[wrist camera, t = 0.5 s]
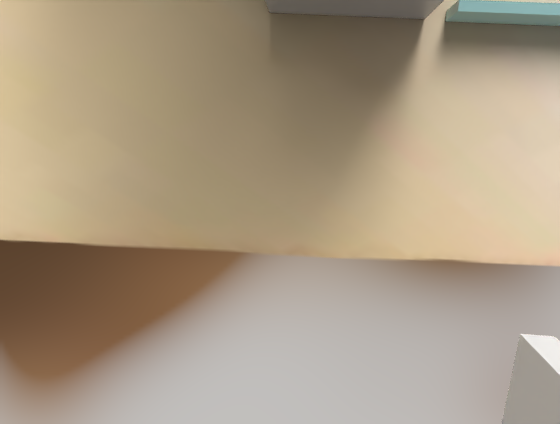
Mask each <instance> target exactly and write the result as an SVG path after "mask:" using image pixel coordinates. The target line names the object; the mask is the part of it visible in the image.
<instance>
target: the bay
mask: <svg viewBox="0 0 560 424" xmlns="http://www.w3.org/2000/svg"><path fill="white" fill-rule="evenodd" d="M443 1H444V0H265V2H266V4H267V7H268V10H269V12H270V13H288V14H312V15H336V16H361V17H385V18H409V19H425V18H426V17H427V16H428V15H429V14H430V13H431V12H432V11H433V10H435V9H436V8H437V7H438V6H439V5H440V4H441V3H442V2H443Z"/></svg>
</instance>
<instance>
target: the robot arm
mask: <svg viewBox="0 0 560 424" xmlns="http://www.w3.org/2000/svg"><path fill="white" fill-rule="evenodd" d="M502 424H560V341H559V340H558V339H557V338H556V337H553V336H541V335H529V334H520V337H519V342H518V347H517V352H516V356H515V362H514V366H513V371H512V376H511V381H510V386H509V391H508V395H507V401H506V405H505V410H504V415H503V420H502Z"/></svg>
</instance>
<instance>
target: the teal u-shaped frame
mask: <svg viewBox="0 0 560 424" xmlns="http://www.w3.org/2000/svg"><path fill="white" fill-rule="evenodd" d="M445 21H450V22H473V23H497V24H521V25H545V26H560V4H559V3H533V2H507V1H481V0H459V1H457V2H456V3H455V4H454V5H453V6H452V7H451V8H449V9H448V10H447V12H446V19H445Z"/></svg>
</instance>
